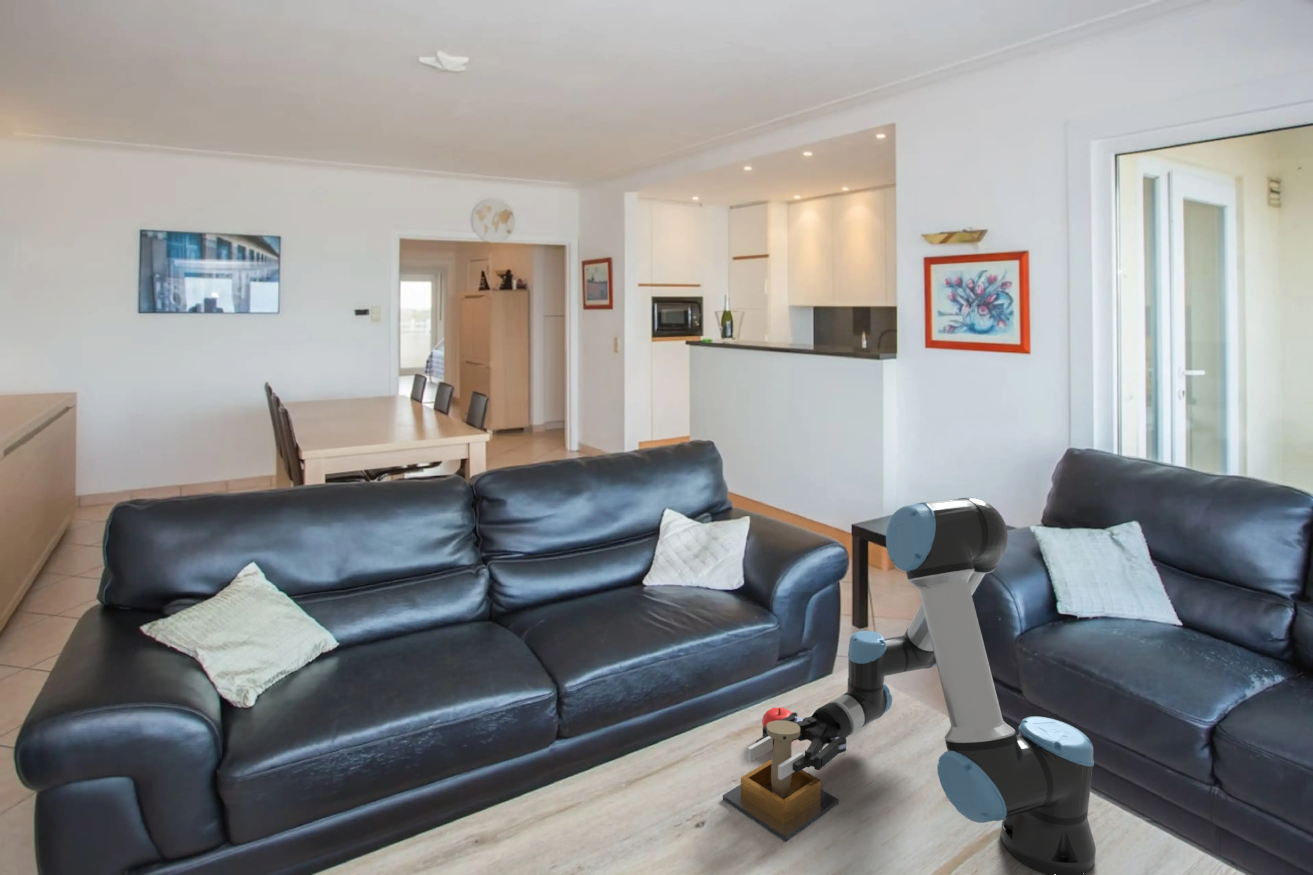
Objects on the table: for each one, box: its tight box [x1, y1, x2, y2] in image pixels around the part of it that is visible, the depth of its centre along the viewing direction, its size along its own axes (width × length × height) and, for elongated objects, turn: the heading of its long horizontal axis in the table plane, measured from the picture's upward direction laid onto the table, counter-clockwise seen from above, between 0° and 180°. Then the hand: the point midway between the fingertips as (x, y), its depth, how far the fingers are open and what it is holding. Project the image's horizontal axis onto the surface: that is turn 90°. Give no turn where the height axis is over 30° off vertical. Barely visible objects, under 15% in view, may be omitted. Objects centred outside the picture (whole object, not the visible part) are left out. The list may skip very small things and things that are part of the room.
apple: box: [761, 707, 794, 742], centre depth 173 cm, size 8×8×8 cm
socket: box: [722, 758, 840, 842], centre depth 152 cm, size 16×16×5 cm
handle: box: [767, 720, 800, 800], centre depth 151 cm, size 5×6×15 cm
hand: (764, 763), depth 148 cm, fingers open, 7 cm apart
